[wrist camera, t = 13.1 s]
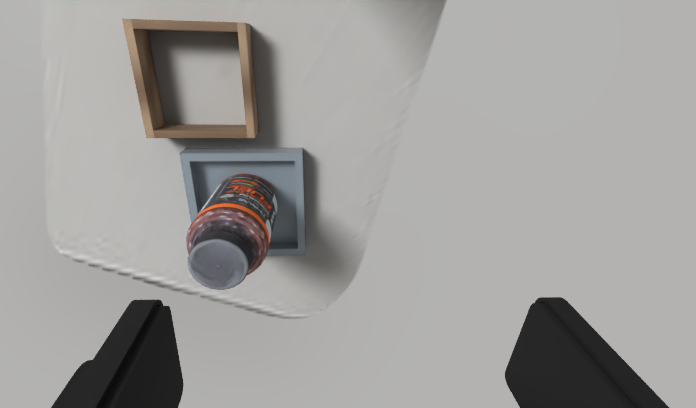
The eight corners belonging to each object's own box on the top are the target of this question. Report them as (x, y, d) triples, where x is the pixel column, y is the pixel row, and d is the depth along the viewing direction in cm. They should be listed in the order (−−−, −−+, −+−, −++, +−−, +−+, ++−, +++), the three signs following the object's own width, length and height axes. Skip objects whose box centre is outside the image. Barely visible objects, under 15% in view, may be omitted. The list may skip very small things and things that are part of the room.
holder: (137, 21, 28) (122, 18, 25) (250, 24, 29) (245, 22, 26) (158, 131, 31) (146, 138, 29) (258, 131, 32) (254, 137, 30)
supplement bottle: (285, 181, 34) (275, 240, 23) (270, 234, 36) (253, 310, 25) (221, 163, 32) (180, 216, 22) (209, 219, 34) (165, 292, 24)
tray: (186, 148, 32) (179, 153, 30) (302, 147, 33) (302, 153, 31) (202, 248, 36) (197, 257, 34) (305, 245, 37) (305, 254, 35)
